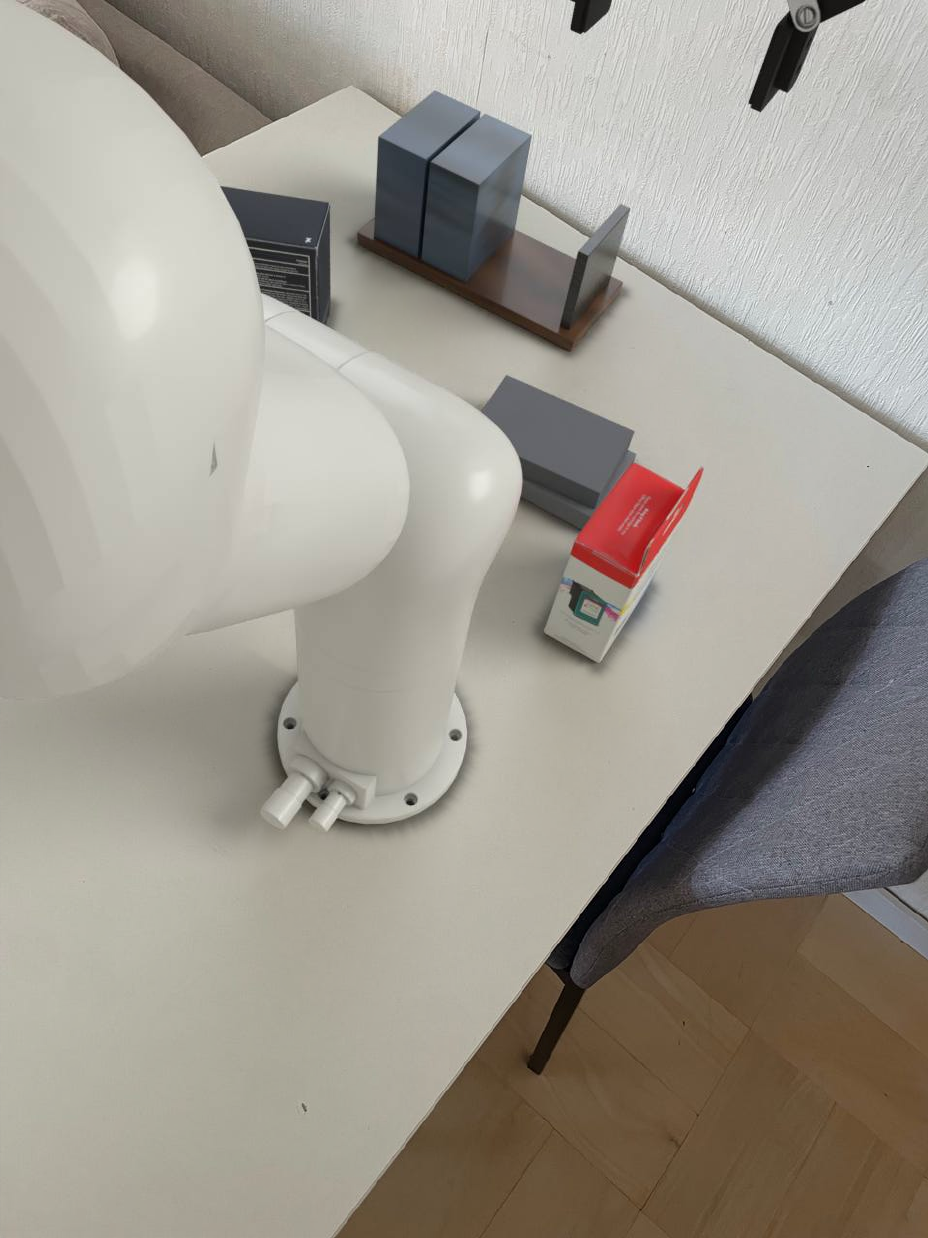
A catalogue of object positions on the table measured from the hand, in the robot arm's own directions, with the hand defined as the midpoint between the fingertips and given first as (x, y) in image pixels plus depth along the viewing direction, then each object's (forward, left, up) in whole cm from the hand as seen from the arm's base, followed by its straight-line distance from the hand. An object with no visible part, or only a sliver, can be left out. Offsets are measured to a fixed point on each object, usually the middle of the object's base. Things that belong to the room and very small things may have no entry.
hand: (675, 58), depth 50 cm
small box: (+4, +30, -36) cm, 48 cm away
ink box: (-6, -8, -36) cm, 38 cm away
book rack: (+22, +18, -36) cm, 46 cm away
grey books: (+4, +2, -36) cm, 37 cm away
